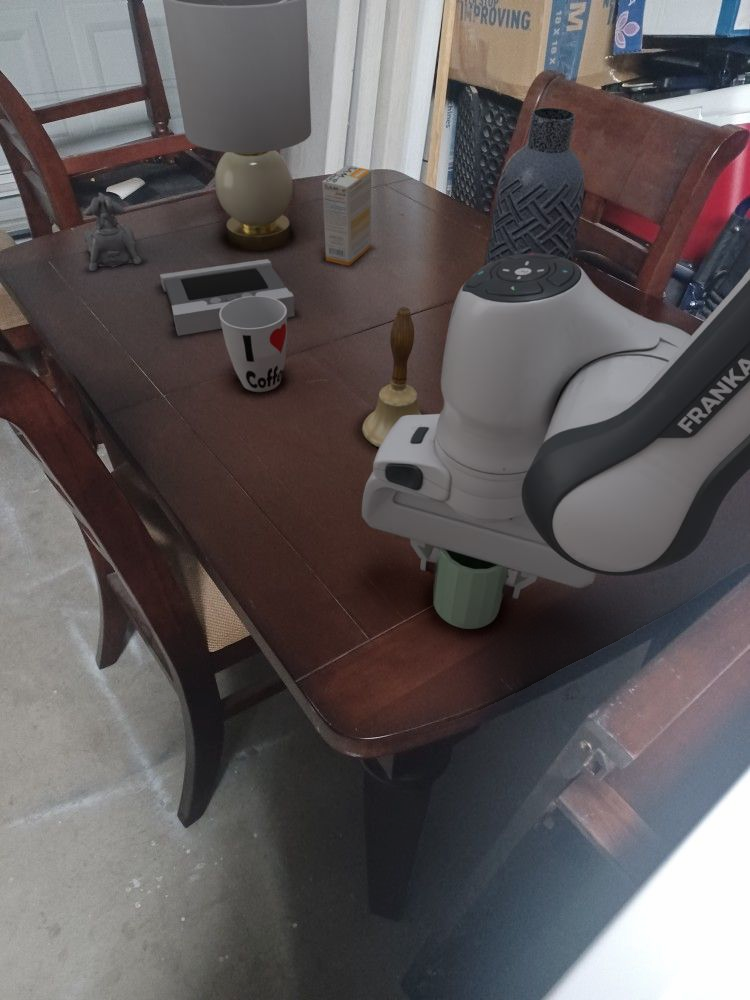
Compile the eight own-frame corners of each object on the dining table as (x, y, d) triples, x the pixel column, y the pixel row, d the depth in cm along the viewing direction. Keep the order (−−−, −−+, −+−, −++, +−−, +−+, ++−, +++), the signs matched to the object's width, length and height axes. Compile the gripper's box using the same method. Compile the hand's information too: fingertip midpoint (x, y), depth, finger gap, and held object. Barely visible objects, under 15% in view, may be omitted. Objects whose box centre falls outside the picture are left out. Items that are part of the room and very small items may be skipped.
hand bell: (383, 401, 88) (387, 284, 77) (442, 422, 85) (454, 304, 74) (349, 437, 83) (347, 316, 72) (410, 460, 80) (418, 339, 69)
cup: (242, 405, 87) (232, 335, 80) (221, 372, 92) (210, 304, 86) (301, 388, 90) (296, 319, 83) (278, 358, 95) (272, 290, 88)
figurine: (135, 239, 122) (121, 175, 114) (142, 264, 115) (127, 197, 107) (85, 246, 119) (67, 181, 112) (89, 271, 113) (71, 203, 105)
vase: (558, 352, 97) (607, 133, 78) (471, 341, 99) (498, 125, 79) (559, 309, 106) (604, 103, 86) (479, 301, 108) (506, 96, 88)
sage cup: (506, 587, 67) (520, 530, 61) (490, 638, 63) (503, 581, 57) (444, 568, 69) (451, 511, 63) (424, 616, 64) (430, 560, 59)
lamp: (177, 244, 120) (130, -6, 96) (251, 206, 133) (226, -23, 108) (269, 274, 113) (244, 12, 88) (338, 231, 125) (333, -9, 101)
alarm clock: (173, 315, 96) (156, 256, 106) (179, 343, 100) (161, 283, 110) (293, 296, 101) (265, 241, 111) (294, 323, 104) (267, 268, 114)
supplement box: (347, 242, 122) (346, 163, 113) (371, 248, 120) (372, 168, 111) (324, 261, 117) (320, 180, 108) (349, 267, 115) (348, 185, 106)
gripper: (632, 473, 53) (590, 587, 63) (382, 411, 58) (379, 525, 68) (621, 528, 49) (578, 641, 59) (353, 457, 54) (354, 571, 64)
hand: (469, 578), depth 63 cm, fingers closed on sage cup, 6 cm apart
